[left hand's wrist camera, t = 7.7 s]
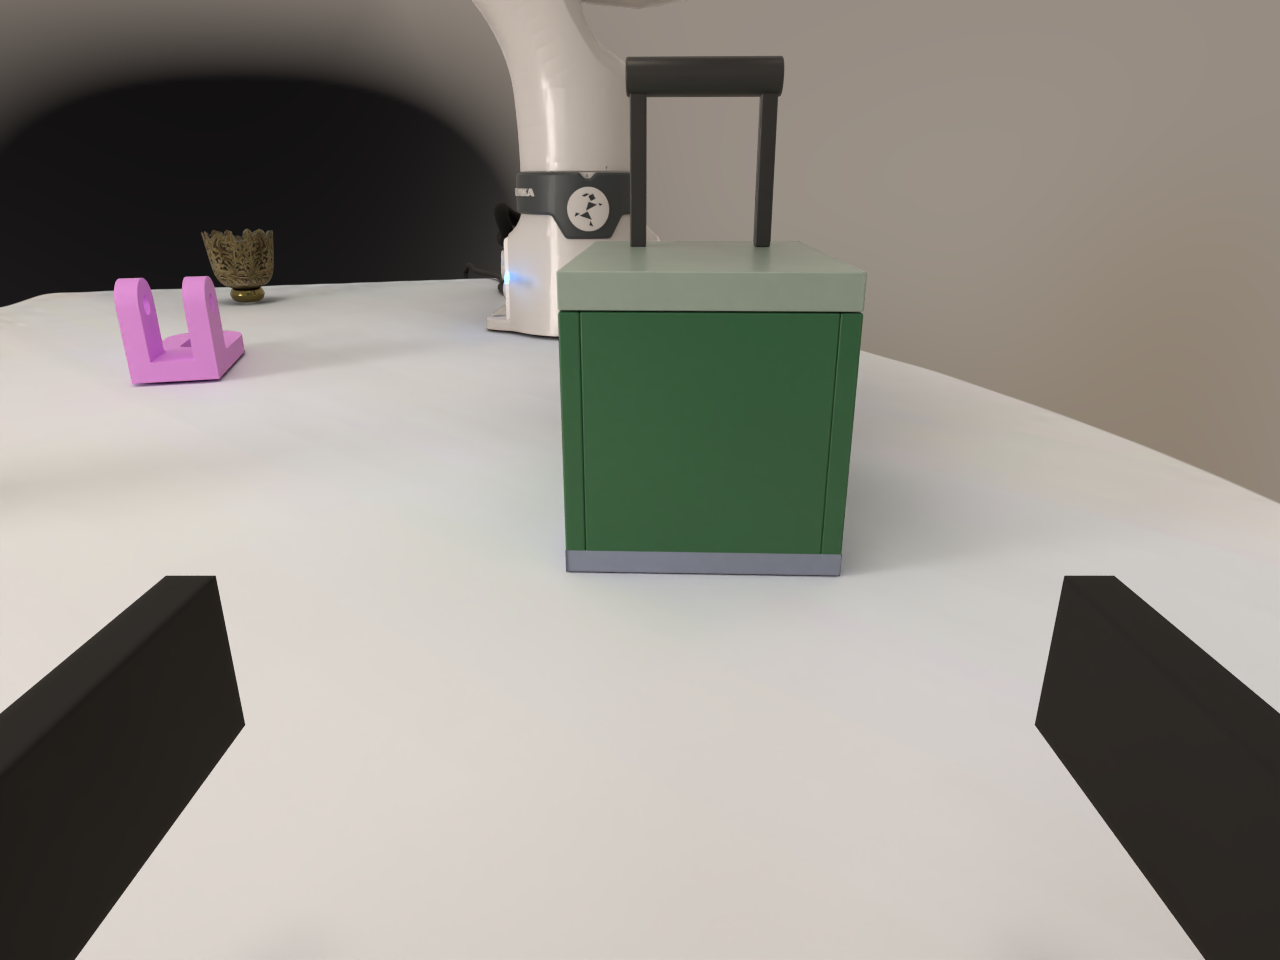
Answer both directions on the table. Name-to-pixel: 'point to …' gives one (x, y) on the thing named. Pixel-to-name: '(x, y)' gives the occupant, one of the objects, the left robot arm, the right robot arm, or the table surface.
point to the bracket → (177, 355)
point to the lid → (707, 267)
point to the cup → (241, 262)
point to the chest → (707, 439)
